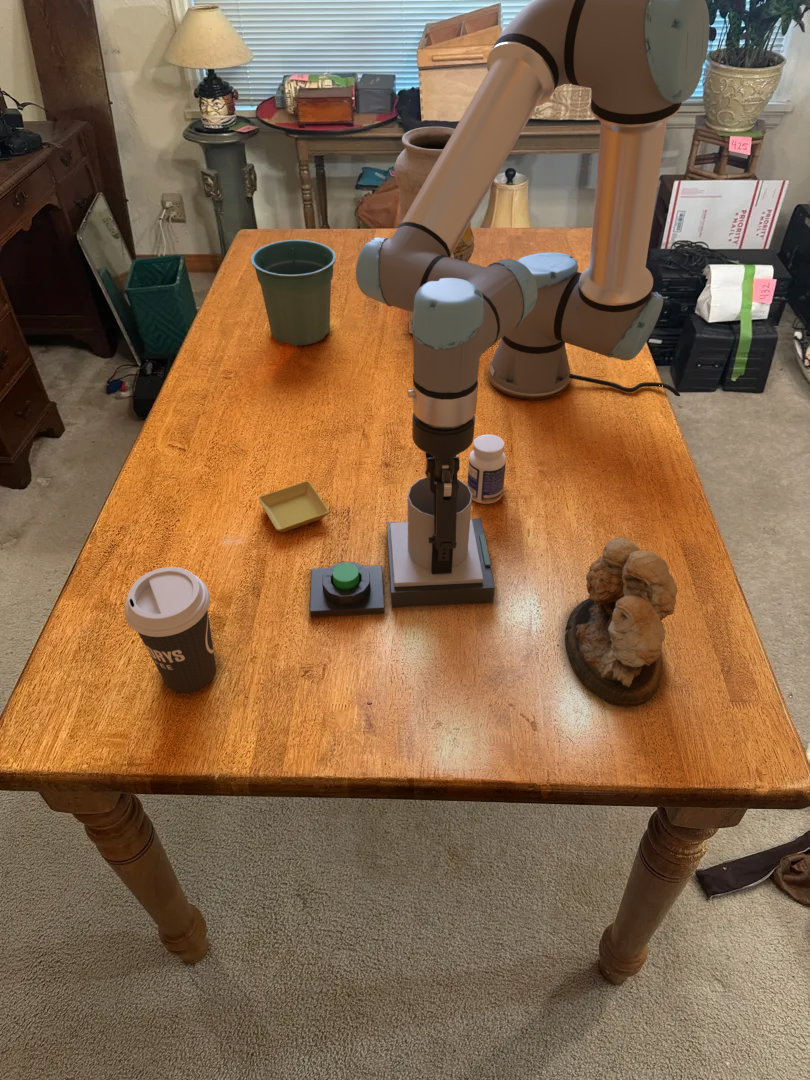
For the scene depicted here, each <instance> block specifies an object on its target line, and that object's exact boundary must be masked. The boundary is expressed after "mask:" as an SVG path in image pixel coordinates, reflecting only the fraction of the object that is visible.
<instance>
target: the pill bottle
mask: <svg viewBox="0 0 810 1080" xmlns="http://www.w3.org/2000/svg"><path fill="white" fill-rule="evenodd" d="M504 451H505V441H504V440H503V439H502V437H500V436H498V435H495V434H491V433H490V434H487V433H486V434H481V435H479V436H477V437H475V438H474V439H473V442H472V450H471V451H470V453H469V456H468V469H467V470H468V471H467V484H466V485H467V486H468V487H469V489H470V491H471V493H472V501H474V502H476V503H478V504H484V505H485V504H486V505H488V504H493V503H496V502H497V501H498V502H499V500H500V499H501V498H502V496H503V494H504V487H505V478H506V477H505V476H506V468H507V467H506V466H507V456H506V454H505V452H504Z"/></svg>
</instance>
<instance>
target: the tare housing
mask: <svg viewBox="0 0 810 1080" xmlns="http://www.w3.org/2000/svg"><path fill="white" fill-rule="evenodd" d="M342 563H351V564H354V565H355V566H356V567H357V568H358V570H359V584H358V585H357V586H356V587H355V588H353V589H351V590H340V589H338V588H336V587H335V585H334V583H333V575H332V572H333V569H334V568H335V567H336V566H337V565H339V564H342ZM383 576H384V575H383V565H363V564H360V563H358V562H355V561H340V562H337V563H335V564H333V565H330V566H329V567H318V568H317V567H316V568H311V570H310V597H309V616H310V618H318V617H341V616H357V615H358V616H359V615H360V616H361V615H379V614H385V596H384V595H385V593H384V580H383V578H384V577H383Z"/></svg>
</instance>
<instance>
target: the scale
mask: <svg viewBox="0 0 810 1080" xmlns="http://www.w3.org/2000/svg"><path fill="white" fill-rule="evenodd" d="M386 544H387V561H388V576H389V589H390V590H389V591H390V592H389V593H390V606H391V608H406V607H407V608H408V607H409V608H410V607H427V606H449V605H467V604H468V605H469V604H470V605H471V604H487V603H488V604H489V603H491V604H492V603H494V597H495V591H496V590H495V589H496V587H495V582H494V577H493V572H492V567H491V566H492V563H491V559H490V554H489V547H488V543H487V538H486V535H485V532H484V527H483V522H482V518H480V517H478V518H475V517H474V518H470V529H469V541H468V551H467V556H466V559H465V560H464V561H463V562H462V563H461V564H460V565H459V566H457V567H455V568H452V573H444V574H432V571H431V570H428V569H425V568H422V567H420V566H418V565H417V564H416V563H415V562H414V561H412V560H411V558H410V555H409V552H408V521H390V522H386Z"/></svg>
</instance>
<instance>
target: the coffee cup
mask: <svg viewBox="0 0 810 1080" xmlns="http://www.w3.org/2000/svg"><path fill="white" fill-rule="evenodd" d="M210 603H211V594H210V590H209V588H208V587H207V585H206V584H205V582H204V581H203V580H202V579H201V578H200V577H198V575H196V574H194V573H193V572H192V571H190V570H188V569H185V568H182V567H179V566H178V567H177V566H176V567H175V566H166V567H165V566H164V567H160V568H156V569H153V570H151V571H149V572H146V573H144V574H143V575H142V576H140V577H139V578H138V579H136V580H135V582H134V583H133V584H132V586H131V587H130V589H129V591H128V594H127V596H126V600H125V604H124V617H125V620H126V623H127V624H128V626H129V627H130V628H131V629H132V630H133V631H134V632H137V634H138V636H139V637H140V639H141V641H142V643H143V644H144V647H145V648H146V650H147V652H148V654H149V655H150V658H151V659H152V661H153V663H154V664H155V667H156V668H157V670H158V672H159V675H160V676H161V677H162V679H163V681H164V683H165V685H166V686H167V687H168V688H169V689H171V690H172V691H174V692H177V693H181V694H185V693H186V694H187V693H193V692H197V691H199V690H201V689H203V688H204V687H206V686H207V685H208V684H210V682H212V680H213V678H214V677H215V675H216V672H217V671H216V670H217V665H216V658H215V657H216V656H215V650H214V649H215V648H214V643H213V638H212V637H213V636H212V630H211V623H210V622H211V621H210V616H209V615H210V614H209V606H210Z"/></svg>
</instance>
